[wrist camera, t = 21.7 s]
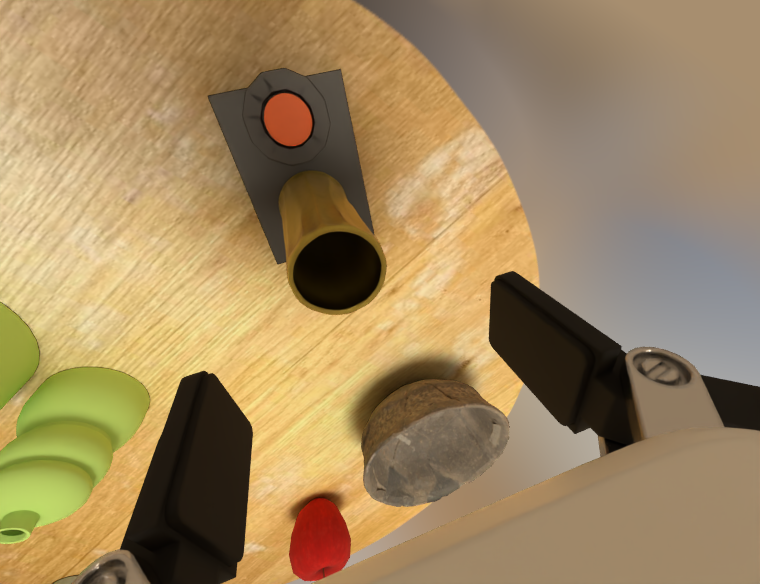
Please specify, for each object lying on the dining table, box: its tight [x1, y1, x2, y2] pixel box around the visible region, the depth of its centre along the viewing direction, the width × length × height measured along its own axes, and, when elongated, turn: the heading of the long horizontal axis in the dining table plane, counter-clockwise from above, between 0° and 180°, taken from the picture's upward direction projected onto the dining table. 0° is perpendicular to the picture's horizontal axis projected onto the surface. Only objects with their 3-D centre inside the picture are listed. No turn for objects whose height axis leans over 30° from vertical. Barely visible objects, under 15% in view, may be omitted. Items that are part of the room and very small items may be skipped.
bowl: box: [361, 379, 510, 507], centre depth 43 cm, size 21×21×10 cm
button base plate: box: [208, 68, 375, 264], centre depth 26 cm, size 15×10×3 cm
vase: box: [279, 171, 387, 315], centre depth 22 cm, size 6×6×14 cm
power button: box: [264, 93, 312, 146], centre depth 22 cm, size 3×3×2 cm
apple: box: [289, 498, 351, 581], centre depth 50 cm, size 10×10×11 cm
